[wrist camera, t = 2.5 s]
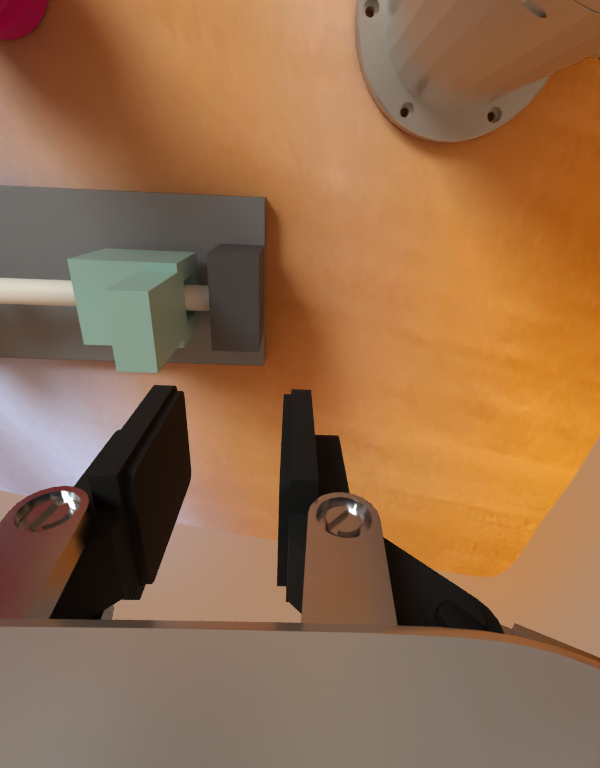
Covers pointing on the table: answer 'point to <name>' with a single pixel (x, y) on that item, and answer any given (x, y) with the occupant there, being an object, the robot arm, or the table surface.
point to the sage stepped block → (135, 304)
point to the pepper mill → (20, 17)
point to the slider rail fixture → (137, 232)
